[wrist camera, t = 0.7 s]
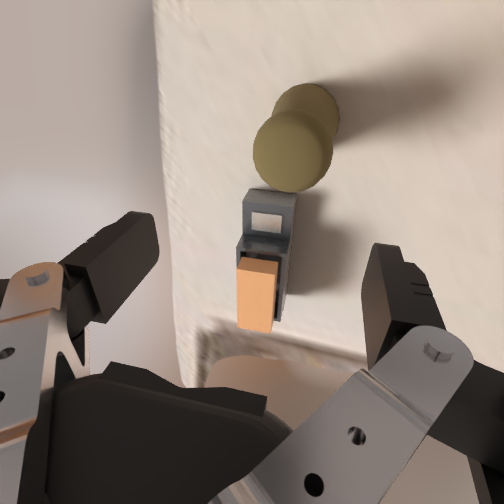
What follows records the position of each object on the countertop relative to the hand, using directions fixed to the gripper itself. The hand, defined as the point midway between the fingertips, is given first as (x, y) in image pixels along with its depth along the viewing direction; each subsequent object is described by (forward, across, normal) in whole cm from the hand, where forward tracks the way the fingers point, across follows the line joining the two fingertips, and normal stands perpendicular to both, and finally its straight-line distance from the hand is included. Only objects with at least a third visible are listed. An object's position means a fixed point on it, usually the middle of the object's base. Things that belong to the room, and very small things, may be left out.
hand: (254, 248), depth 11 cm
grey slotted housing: (+21, +2, +14) cm, 25 cm away
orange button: (+15, +2, +15) cm, 21 cm away
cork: (+21, 0, 0) cm, 21 cm away
